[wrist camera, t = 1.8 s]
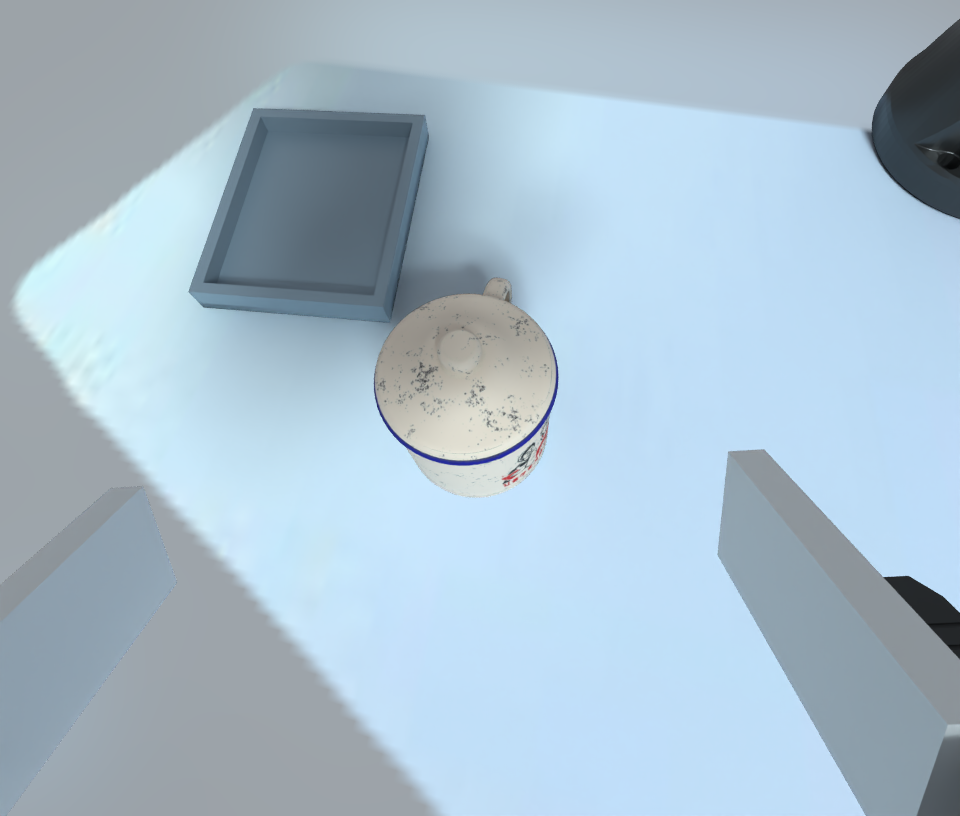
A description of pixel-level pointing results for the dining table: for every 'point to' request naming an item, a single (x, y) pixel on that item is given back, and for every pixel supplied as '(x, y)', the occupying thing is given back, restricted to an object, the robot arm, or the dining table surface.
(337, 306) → the slate tray
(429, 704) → the dining table surface
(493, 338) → the teacup with lid
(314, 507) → the dining table surface
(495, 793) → the dining table surface
